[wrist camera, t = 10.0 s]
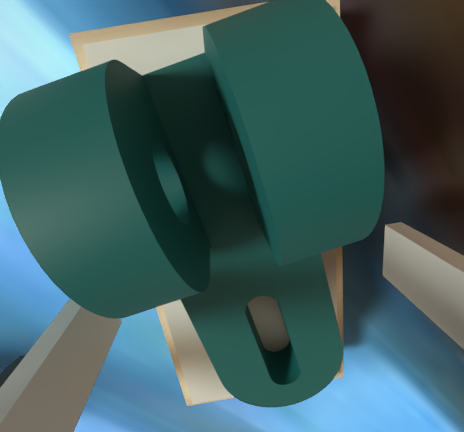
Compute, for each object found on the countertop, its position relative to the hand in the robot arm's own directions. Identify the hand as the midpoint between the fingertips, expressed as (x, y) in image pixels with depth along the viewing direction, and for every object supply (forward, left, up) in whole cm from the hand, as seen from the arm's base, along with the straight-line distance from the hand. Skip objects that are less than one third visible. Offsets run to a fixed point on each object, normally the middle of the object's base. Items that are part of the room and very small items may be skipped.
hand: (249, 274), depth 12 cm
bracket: (0, 0, -2) cm, 2 cm away
